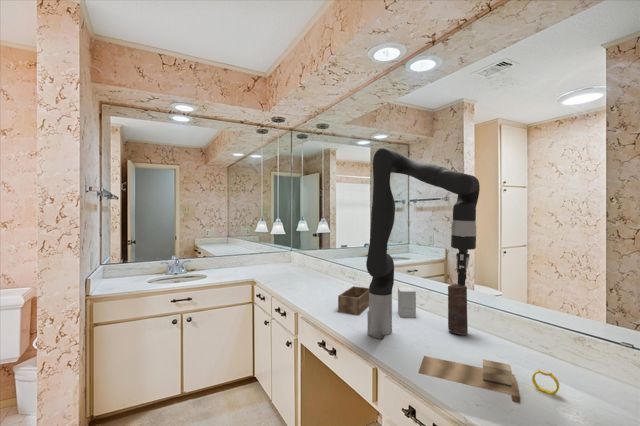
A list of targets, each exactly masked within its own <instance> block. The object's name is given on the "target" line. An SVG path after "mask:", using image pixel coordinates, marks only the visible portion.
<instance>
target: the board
mask: <svg viewBox="0 0 640 426" xmlns="http://www.w3.org/2000/svg"><path fill="white" fill-rule="evenodd" d="M418 374H419V375H420V374H421V375H425V376H430V377H434V378H437V379H443V380H446V381H451V382H455V383H459V384H462V385H467V386H472V387H477V388H480V389H484V390H489V391H493V392H497V393H502V394H506V395H509V396H511V400H512V402H517V403H520V402H521V395H520V392H519V391H520V390H519V387H518V384H517V383H518V382H517V378H516V374H512V387H508V386H504V385H499V384H495V383H490V382H486V381H483V367H480V366H476V365H470V364H465V363H460V362H456V361H451V360H446V359H441V358H436V357H432V356H427V355H423V358H422V361H421V364H420V366H419V369H418Z"/></svg>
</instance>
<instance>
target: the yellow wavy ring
mask: <svg viewBox="0 0 640 426" xmlns="http://www.w3.org/2000/svg"><path fill="white" fill-rule="evenodd" d="M537 374H541V375H543V376H547V377H551V378H552V380H553V381H554V382H555V384H556V389H555V390H552V391H550V390H549V389H545V388H543V387H540V385H539V384H538V383H537V381H536V375H537ZM531 381H532V384H533V385H534V387H535V388H536V389H537V390H538V391H541V392H543V393H546V394H547V395H555V394H557V393H558V391H559V390H560V382H559V380H558V378H557V377H556V376H555V375H554V374H553V373H552V371H551V370H549V369H547V368H543V367H542V368H539V369H538V370H536V371H535V372H534V373H533V374H532V378H531Z"/></svg>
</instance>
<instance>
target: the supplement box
mask: <svg viewBox="0 0 640 426" xmlns="http://www.w3.org/2000/svg"><path fill="white" fill-rule="evenodd" d="M416 292H417V291H416V290H415V289H414V288H413V287H399V286H398V287H397V312H398V315H399V316H400V318H414V319H415V318H416V319H417V297H416V296H417V293H416Z"/></svg>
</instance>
